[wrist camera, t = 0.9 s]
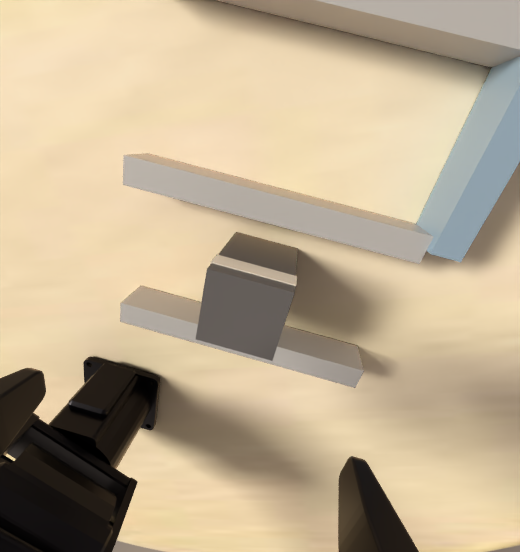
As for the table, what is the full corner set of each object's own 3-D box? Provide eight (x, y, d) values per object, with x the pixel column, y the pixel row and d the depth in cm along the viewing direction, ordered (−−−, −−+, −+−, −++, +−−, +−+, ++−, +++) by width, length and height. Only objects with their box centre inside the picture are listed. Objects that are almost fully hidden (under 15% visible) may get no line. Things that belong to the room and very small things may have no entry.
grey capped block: (281, 302, 20) (273, 362, 14) (224, 286, 20) (194, 339, 15) (298, 247, 18) (296, 292, 13) (235, 230, 18) (206, 267, 13)
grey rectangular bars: (370, 367, 21) (379, 400, 18) (139, 302, 22) (116, 326, 19) (545, 35, 13) (611, 5, 10) (159, -58, 13) (121, -111, 10)
